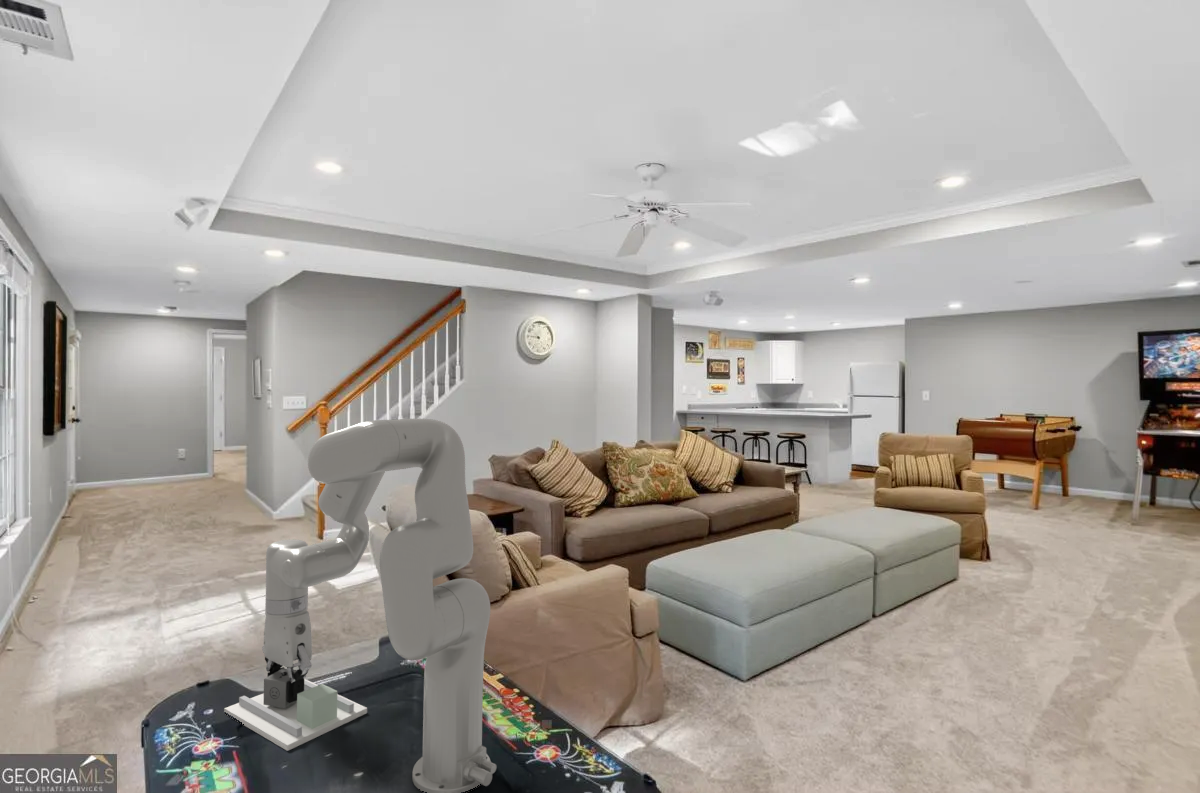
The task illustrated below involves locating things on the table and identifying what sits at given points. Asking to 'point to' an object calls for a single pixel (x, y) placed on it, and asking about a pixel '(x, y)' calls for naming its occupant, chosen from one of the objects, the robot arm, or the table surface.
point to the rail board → (293, 717)
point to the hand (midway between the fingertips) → (285, 694)
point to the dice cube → (277, 689)
